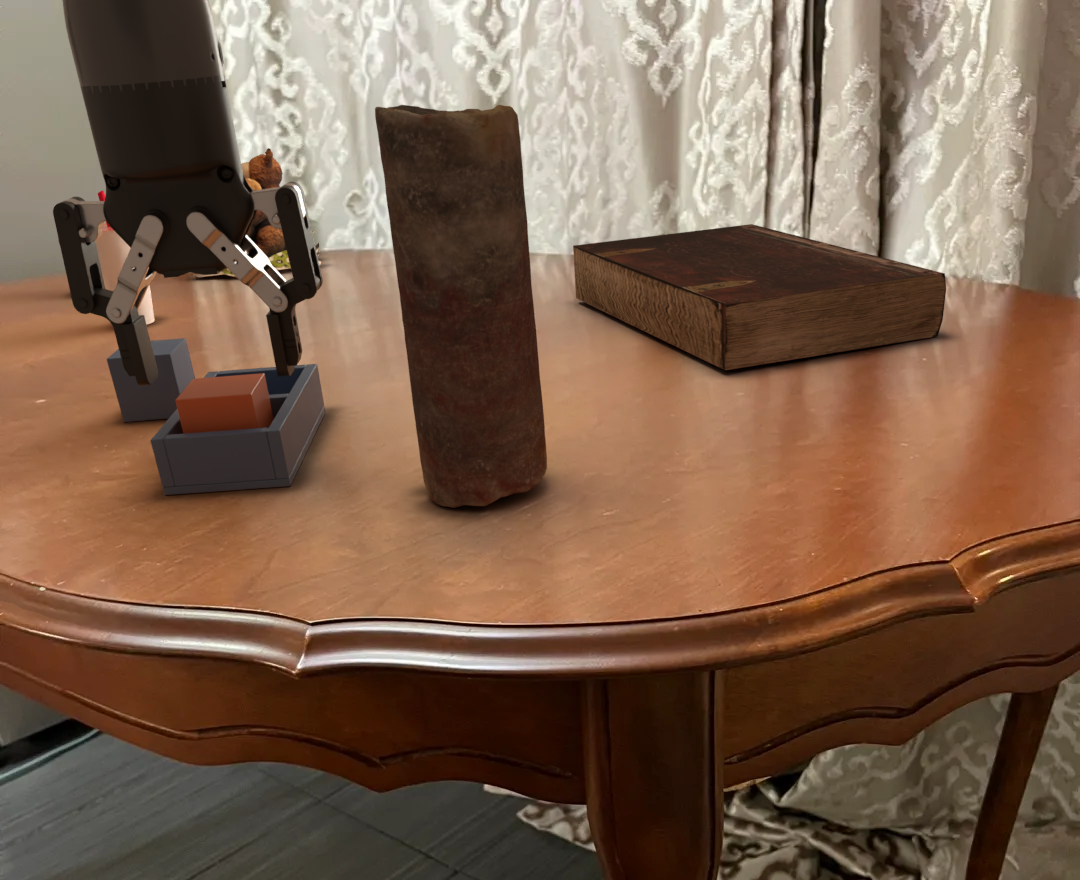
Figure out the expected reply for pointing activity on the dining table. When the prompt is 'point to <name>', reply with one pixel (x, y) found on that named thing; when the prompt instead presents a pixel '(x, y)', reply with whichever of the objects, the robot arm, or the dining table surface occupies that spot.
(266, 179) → the bear figurine
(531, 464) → the brown tall block
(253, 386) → the terracotta block
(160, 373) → the blue block
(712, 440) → the dining table surface
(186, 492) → the tray
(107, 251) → the cup
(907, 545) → the dining table surface
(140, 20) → the robot arm
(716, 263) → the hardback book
